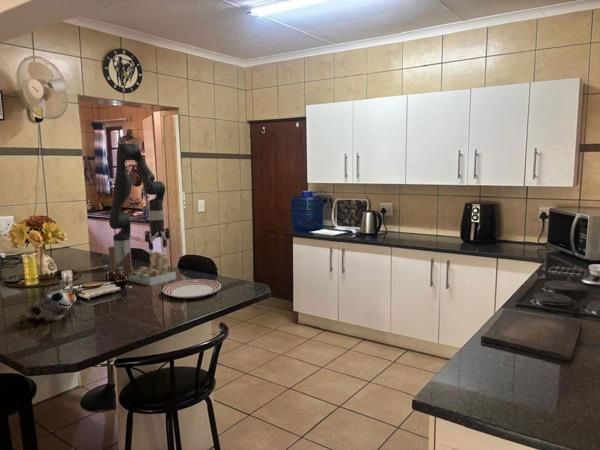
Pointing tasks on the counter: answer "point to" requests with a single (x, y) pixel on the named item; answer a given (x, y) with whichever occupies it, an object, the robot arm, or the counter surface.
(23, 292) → the counter surface
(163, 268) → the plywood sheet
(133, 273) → the rack
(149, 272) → the offcut stack
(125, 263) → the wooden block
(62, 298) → the lucky cat figurine
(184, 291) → the dinner plate
